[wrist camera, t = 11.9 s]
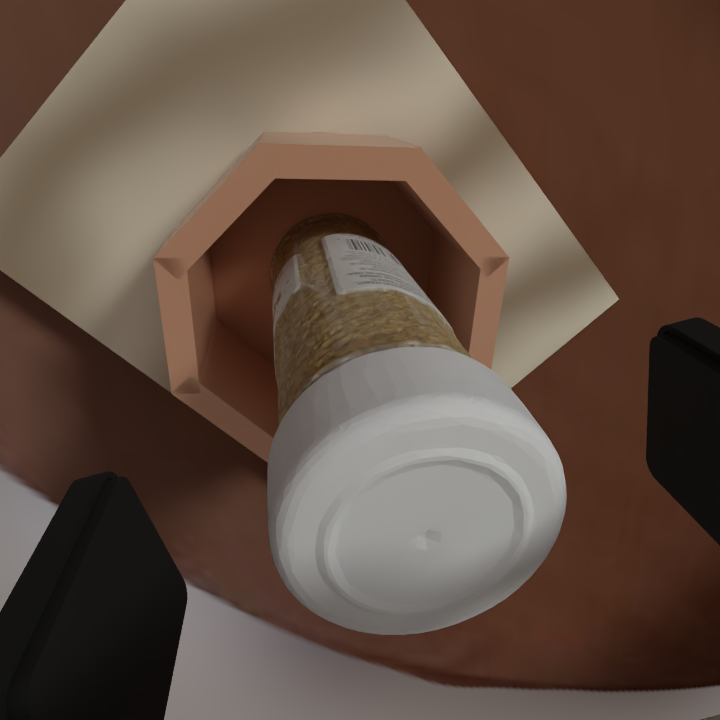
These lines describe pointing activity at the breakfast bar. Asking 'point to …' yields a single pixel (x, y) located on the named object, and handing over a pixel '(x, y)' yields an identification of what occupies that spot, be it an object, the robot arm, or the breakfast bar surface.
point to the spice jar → (394, 447)
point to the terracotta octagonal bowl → (263, 234)
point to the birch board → (236, 134)
